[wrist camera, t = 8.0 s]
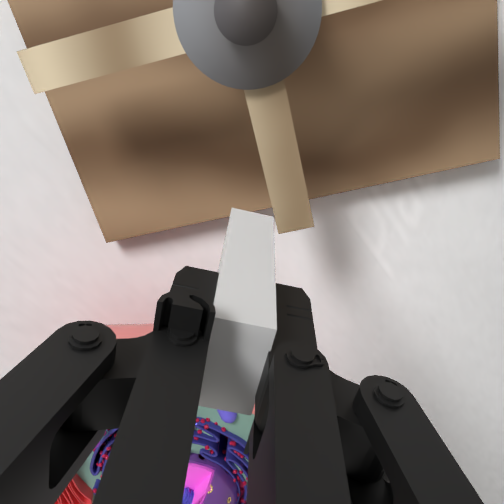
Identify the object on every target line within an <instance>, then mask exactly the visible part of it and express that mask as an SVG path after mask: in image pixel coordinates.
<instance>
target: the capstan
mask: <svg viewBox="0 0 504 504" xmlns="http://www.w3.org/2000/svg"><path fill="white" fill-rule="evenodd" d="M378 1H382V0H173V7H172V8H168V9H165V10H161V11H158V12H154V13H151V14H147V15H144V16H140V17H137V18H133V19H130V20H126V21H123V22H119V23H115V24H112V25H108V26H105V27H101V28H98V29H94V30H91V31H87V32H84V33H80V34H77V35H73V36H70V37H66V38H63V39H59V40H56V41H52V42H49V43H45V44H42V45H38V46H35V47H31V48H28V49H24V50H21V51H17V53H18V56H19V58H20V60H21V63H22V65H23V68H24V70H25V72H26V75H27V77H28V79H29V82H30V84H31V86H32V89H33V91H34V94H37V93H41V92H44V91H48V90H52V89H55V88H59V87H63V86H67V85H70V84H74V83H78V82H81V81H85V80H89V79H93V78H96V77H100V76H104V75H107V74H111V73H115V72H118V71H122V70H126V69H130V68H133V67H137V66H141V65H144V64H148V63H152V62H156V61H159V60H163V59H167V58H170V57H174V56H178V55H181V54H185V53H186V54H187V56H188V57H189V59H190V60H191V61H192V62H193V64H194V65H195V66H196V67H197V68H198V69H199V70H200V71H201V72H202V73H203V74H205V75H206V76H207V77H209V78H210V79H212V80H214V81H215V82H217V83H219V84H222V85H224V86H227V87H231V88H235V89H242V90H244V93H245V97H246V101H247V105H248V109H249V113H250V117H251V122H252V126H253V130H254V134H255V138H256V142H257V146H258V150H259V155H260V159H261V163H262V167H263V171H264V175H265V179H266V184H267V188H268V192H269V196H270V200H271V204H272V208H273V212H274V217H275V221H276V225H277V229H278V233H279V234H281V233H286V232H291V231H296V230H300V229H305V228H310V227H314V223H313V218H312V213H311V208H310V203H309V198H308V193H307V189H306V184H305V179H304V174H303V169H302V164H301V159H300V155H299V150H298V145H297V140H296V135H295V130H294V125H293V121H292V116H291V111H290V106H289V101H288V96H287V91H286V86H285V82H284V79H285V78H286V77H288V76H289V75H291V74H292V73H293V72H294V71H295V70H296V69H297V68H298V67H299V66H300V65H301V64H302V63H303V62H304V60H305V59H306V57H307V56H308V54H309V53H310V51H311V49H312V47H313V45H314V43H315V40H316V38H317V35H318V32H319V28H320V24H321V17H322V16H326V15H330V14H333V13H337V12H341V11H345V10H348V9H352V8H356V7H359V6H363V5H367V4H370V3H374V2H378Z"/></svg>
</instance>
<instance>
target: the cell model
mask: <svg viewBox="0 0 504 504" xmlns="http://www.w3.org/2000/svg"><path fill="white" fill-rule="evenodd" d="M106 326H108V327H109V328H111V329H112V331H113V332H114V333H115V334H116V339H123V338H136V337H140V336H144V335H146V334H148V333H150V332H152V331H153V327H154V324H114V325H106ZM254 417H255V404H254V408H253V411H252V414H251V415H245V414H240V413H234V412H229V411H224V410H218V409H213V408H207V407H202V406H198V411H197V417H196V423H195V429H194V435H193V440H192V446H191V452H190V458H189V464H188V470H187V476H186V481H185V487H184V493H183V499H182V504H247V483H248V461H249V452H248V455H247V454H243V453H244V450H245V446H246V443H247V440H248V436H249V433H250V430H251V427H252V423H253V420H254ZM118 429H119V428H117V429H106V431H105V434H104V436H103V437H102V439H101V440H100V441H99V443H98V444H97V445H96V447H95V448H94V450H93V451H92V452H91V454H90V455H89V457H88V458H87V459H86V461H85V462H84V463H83V465H82V466H81V468H80V469H79V470H78V472H77V473H76V474H75V476H74V477H73V479H72V480H71V481H70V483H69V484H68V485H67V487H66V488H65V490H64V491H63V492H62V494H61V495H60V497H59V498H58V499H57V501H56V502H55V503H54V504H92V503H93V500H94V497H95V494H96V491H97V489H98V486H99V483H100V480H101V477H102V474H103V471H104V469H105V466H106V463H107V460H108V457H109V454H110V451H111V449H112V446H113V443H114V440H115V437H116V434H117V432H118Z"/></svg>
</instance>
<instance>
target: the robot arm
mask: <svg viewBox="0 0 504 504" xmlns="http://www.w3.org/2000/svg"><path fill="white" fill-rule="evenodd" d="M311 311H312V309H311V302H310V299H309V297H308V296H307V295H306V293H305V292H304V291H303V289H302V288H297V287H292V286H287V285H282V284H277V283H276V278H275V243H274V217H273V216H268V215H264V214H259V213H254V212H250V211H245V210H241V209H236V208H231V213H230V218H229V222H228V227H227V232H226V236H225V241H224V245H223V250H222V255H221V259H220V264H219V269H218V272H213V271H208V270H203V269H199V268H194V267H189V266H185V267H184V268H183V269H181V270H180V271H179V272H177V273H176V275H175V278H174V281H173V285H172V287H171V290H170V292H168V293H166V294H164V295H162V296H161V297H160V299H159V300H158V301H157V307H156V314H155V320H154V327H153V331H152V332H150V333H148V334H146V335H144V336H140V337H136V338H123V339H116V334H115V333H114V332H113V331H112V329H111V328H109V327H108V326H106V325H104V324H102V323H98V322H94V321H77V322H73V323H69V324H66V325H64V326H63V327H61V328H59V329H58V330H57V331H56V332H54V333H53V334H52V335H51V336H50V337H49V338H47V339H46V340H45V341H44V342H43V343H42V344H41V345H39V346H38V347H37V348H36V349H35V350H34V351H33V352H31V353H30V354H29V355H28V356H27V357H26V358H25V359H23V360H22V361H21V362H20V363H19V364H18V365H17V366H15V367H14V368H13V369H12V370H11V371H10V372H9V373H7V374H6V375H5V376H4V377H3V378H2V379H0V504H54V503H55V502H56V501H57V499H58V498H59V497H60V495H61V494H62V492H63V491H64V490H65V488H66V487H67V485H68V484H69V483H70V481H71V480H72V479H73V477H74V476H75V474H76V473H77V472H78V470H79V469H80V468H81V466H82V465H83V463H84V462H85V461H86V459H87V458H88V457H89V455H90V454H91V452H92V451H93V450H94V448H95V447H96V445H97V444H98V443H99V441H100V440H101V439H102V437H103V436H104V434H105V431H106V429H117V428H119V429H118V432H117V434H116V437H115V440H114V443H113V446H112V449H111V451H110V454H109V457H108V460H107V463H106V466H105V469H104V471H103V474H102V477H101V480H100V483H99V486H98V489H97V491H96V494H95V497H94V500H93V503H92V504H182V499H183V493H184V487H185V481H186V476H187V470H188V464H189V458H190V452H191V446H192V440H193V435H194V429H195V423H196V417H197V411H198V406H202V407H207V408H213V409H218V410H224V411H229V412H234V413H240V414H245V415H251V414H252V411H253V408H254V404H255V417H254V420H253V423H252V427H251V430H250V433H249V436H248V440H247V443H246V446H245V450H244V453H243V454H247V455H248V452H249V461H248V483H247V504H484V503H483V502H482V500H481V499H480V497H479V496H478V494H477V493H476V491H475V489H474V488H473V486H472V485H471V483H470V482H469V480H468V479H467V477H466V476H465V474H464V473H463V471H462V470H461V468H460V466H459V465H458V463H457V462H456V460H455V459H454V457H453V456H452V454H451V453H450V451H449V450H448V448H447V447H446V445H445V444H444V442H443V440H442V439H441V437H440V436H439V434H438V433H437V431H436V430H435V428H434V427H433V425H432V424H431V422H430V421H429V419H428V417H427V416H426V414H425V413H424V411H423V410H422V408H421V407H420V405H419V404H418V402H417V401H416V399H415V398H414V396H413V395H412V394H411V393H410V392H409V390H408V389H407V388H406V387H404V386H403V385H401V384H400V383H399V382H397V381H395V380H392V379H390V378H388V377H384V376H378V375H374V376H367V377H366V378H365V379H363V380H362V381H361V383H360V385H358V384H355V383H353V382H351V381H348V380H346V379H344V378H342V377H340V376H338V375H336V374H334V373H333V372H332V371H330V370H329V366H328V363H327V360H326V358H325V356H324V355H323V354H322V353H321V352H320V351H319V350H317V344H316V337H315V330H314V323H313V316H312V312H311Z"/></svg>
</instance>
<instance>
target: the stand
mask: <svg viewBox="0 0 504 504" xmlns="http://www.w3.org/2000/svg"><path fill="white" fill-rule="evenodd" d="M8 3H9V5H10V8H11V10H12V13H13V15H14V17H15V20H16V22H17V25H18V27H19V30H20V32H21V35H22V37H23V40H24V42H25V44H26V47H27V49H28V48H31V47H35V46H38V45H42V44H45V43H49V42H52V41H56V40H59V39H63V38H66V37H70V36H73V35H77V34H80V33H84V32H87V31H91V30H94V29H98V28H101V27H105V26H108V25H112V24H115V23H119V22H123V21H126V20H130V19H133V18H137V17H140V16H144V15H147V14H151V13H154V12H158V11H161V10H165V9H168V8H172V7H173V0H8ZM284 82H285V86H286V91H287V96H288V101H289V106H290V111H291V116H292V121H293V125H294V130H295V135H296V140H297V145H298V150H299V155H300V159H301V164H302V169H303V174H304V179H305V184H306V189H307V193H308V198H309V199H313V198H318V197H323V196H327V195H332V194H337V193H341V192H346V191H351V190H355V189H360V188H365V187H369V186H374V185H379V184H383V183H388V182H393V181H398V180H402V179H407V178H412V177H416V176H421V175H426V174H430V173H435V172H440V171H444V170H449V169H454V168H458V167H463V166H468V165H472V164H477V163H482V162H486V161H491V160H496V159H500V145H499V86H498V26H497V0H382V1H378V2H374V3H370V4H367V5H363V6H359V7H356V8H352V9H348V10H345V11H341V12H337V13H333V14H330V15H326V16H322V17H321V24H320V28H319V32H318V35H317V38H316V40H315V43H314V45H313V47H312V49H311V51H310V53H309V54H308V56H307V57H306V59H305V60H304V62H303V63H302V64H301V65H300V66H299V67H298V68H297V69H296V70H295V71H294V72H293V73H292V74H291V75H289V76H288V77H286V78H285V79H284ZM45 93H46V96H47V98H48V101H49V103H50V106H51V108H52V111H53V113H54V115H55V118H56V120H57V123H58V125H59V128H60V130H61V133H62V135H63V137H64V140H65V142H66V145H67V147H68V150H69V152H70V155H71V157H72V160H73V162H74V164H75V167H76V169H77V172H78V174H79V177H80V179H81V182H82V184H83V186H84V189H85V191H86V194H87V196H88V199H89V201H90V204H91V206H92V209H93V211H94V213H95V216H96V218H97V221H98V223H99V226H100V228H101V231H102V233H103V235H104V238H105V240H106V243H108V242H112V241H117V240H122V239H126V238H131V237H136V236H140V235H145V234H150V233H154V232H159V231H164V230H168V229H173V228H178V227H182V226H187V225H192V224H196V223H201V222H206V221H211V220H215V219H220V218H225V217H229V216H230V213H231V208H236V209H241V210H245V211H250V212H253V211H257V210H262V209H267V208H271V207H272V204H271V200H270V196H269V192H268V188H267V184H266V179H265V175H264V171H263V167H262V163H261V159H260V155H259V150H258V146H257V142H256V138H255V134H254V130H253V126H252V122H251V117H250V113H249V109H248V105H247V101H246V97H245V93H244V90H242V89H235V88H231V87H227V86H224V85H222V84H219V83H217V82H215V81H214V80H212V79H210V78H209V77H207V76H206V75H205V74H203V73H202V72H201V71H200V70H199V69H198V68H197V67H196V66H195V65H194V64H193V62H192V61H191V60H190V59H189V57H188V56H187V54H186V53H185V54H181V55H178V56H174V57H170V58H167V59H163V60H159V61H156V62H152V63H148V64H144V65H141V66H137V67H133V68H130V69H126V70H122V71H118V72H115V73H111V74H107V75H104V76H100V77H96V78H93V79H89V80H85V81H81V82H78V83H74V84H70V85H67V86H63V87H59V88H55V89H52V90H48V91H45Z"/></svg>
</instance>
